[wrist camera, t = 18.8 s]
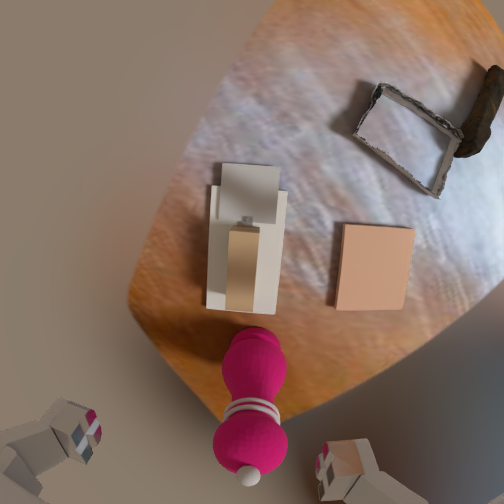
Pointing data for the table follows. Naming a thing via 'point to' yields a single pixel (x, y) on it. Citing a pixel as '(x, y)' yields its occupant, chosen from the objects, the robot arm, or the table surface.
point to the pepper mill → (252, 406)
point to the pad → (266, 257)
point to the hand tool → (482, 115)
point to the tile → (373, 267)
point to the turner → (246, 225)
